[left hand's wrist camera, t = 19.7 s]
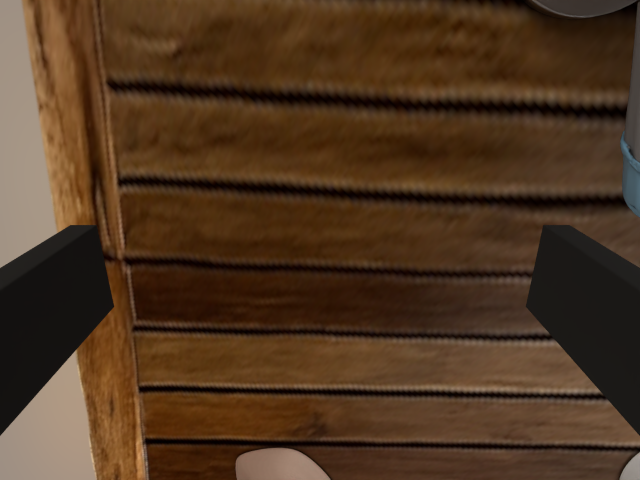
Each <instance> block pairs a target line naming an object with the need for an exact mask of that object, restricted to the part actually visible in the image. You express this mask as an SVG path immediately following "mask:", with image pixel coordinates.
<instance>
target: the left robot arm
mask: <svg viewBox="0 0 640 480" xmlns="http://www.w3.org/2000/svg"><path fill="white" fill-rule="evenodd" d="M523 1H524V2H525V3H526V4H527V5H529V6H530V7H531V8H533V9H535V10H536V11H538V12H540V13H543V14H545V15H548V16H551V17H554V18H560V19H584V18H590V17H595V16H600V15H604V14H607V13H611V12H614V11H617V10H619V9H622V8H624V7H626V6H628V5H630V4H632V3H634V2H635V1H637V0H523ZM620 146H621V150H622V153H623V179H622V191H623V196H624V199H625V201H626V203H627V205H628V207H629V208H630V209H631V210H632V211H633V212H634V213H635V215H637V216H638V217H640V0H639V1H638V7H637V17H636V28H635V38H634V49H633V59H632V70H631V80H630V90H629V98H628V107H627V115H626V123H625V131H623V134H622V137H621V142H620ZM113 307H114V304H113V299H112V295H111V290H110V285H109V281H108V276H107V271H106V267H105V262H104V257H103V253H102V248H101V243H100V239H99V234H98V229H97V225H70V226H68V227H67V228H65V229H64V230H62V231H60V232H59V233H57V234H55V235H54V236H52V237H50V238H49V239H47V240H46V241H44V242H42V243H41V244H39V245H37V246H36V247H34V248H32V249H31V250H29V251H27V252H26V253H24V254H23V255H21V256H19V257H18V258H16V259H14V260H13V261H11V262H9V263H8V264H6V265H5V266H3V267H1V268H0V435H1V434H2V433H3V432H4V431H5V430H6V428H7V427H8V426H9V425H10V424H11V423H12V422H13V421H14V420H15V418H16V417H17V416H18V415H19V414H20V413H21V412H22V410H23V409H24V408H25V407H26V406H27V405H28V404H29V402H30V401H31V400H32V399H33V398H34V397H35V396H36V395H37V393H38V392H39V391H40V390H41V389H42V388H43V387H44V386H45V384H46V383H47V382H48V381H49V380H50V379H51V378H52V376H53V375H54V374H55V373H56V372H57V371H58V370H59V368H60V367H61V366H62V365H63V364H64V363H65V362H66V361H67V359H68V358H69V357H70V356H71V355H72V354H73V353H74V351H75V350H76V349H77V348H78V347H79V346H80V345H81V344H82V342H83V341H84V340H85V339H86V338H87V337H88V336H89V334H90V333H91V332H92V331H93V330H94V329H95V328H96V327H97V325H98V324H99V323H100V322H101V321H102V320H103V319H104V317H105V316H106V315H107V314H108V313H109V312H110V311H111V310H112V308H113ZM526 307H527V308H528V310H529V311H530V312H531V313H532V314H533V315H534V316H535V317H536V319H537V320H538V321H539V322H540V323H541V324H542V325H543V327H544V328H545V329H546V330H547V331H548V332H549V333H550V334H551V336H552V337H553V338H554V339H555V340H556V341H557V342H558V344H559V345H560V346H561V347H562V348H563V349H564V350H565V351H566V353H567V354H568V355H569V356H570V357H571V358H572V359H573V361H574V362H575V363H576V364H577V365H578V366H579V367H580V369H581V370H582V371H583V372H584V373H585V374H586V375H587V376H588V378H589V379H590V380H591V381H592V382H593V383H594V384H595V386H596V387H597V388H598V389H599V390H600V391H601V392H602V393H603V395H604V396H605V397H606V398H607V399H608V400H609V401H610V403H611V404H612V405H613V406H614V407H615V408H616V409H617V410H618V412H619V413H620V414H621V415H622V416H623V417H624V418H625V420H626V421H627V422H628V423H629V424H630V425H631V426H632V427H633V429H634V430H635V431H636V432H637V433H638V434H639V435H640V268H639V267H637V266H635V265H634V264H632V263H631V262H629V261H627V260H626V259H624V258H622V257H621V256H619V255H617V254H616V253H614V252H613V251H611V250H609V249H608V248H606V247H604V246H603V245H601V244H599V243H598V242H596V241H594V240H593V239H591V238H590V237H588V236H586V235H585V234H583V233H581V232H580V231H578V230H576V229H575V228H573V227H572V226H570V225H543V229H542V234H541V239H540V243H539V248H538V253H537V257H536V262H535V267H534V271H533V276H532V281H531V285H530V290H529V295H528V299H527V304H526Z"/></svg>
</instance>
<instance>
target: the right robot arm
mask: <svg viewBox="0 0 640 480" xmlns="http://www.w3.org/2000/svg"><path fill="white" fill-rule="evenodd" d="M620 480H640V452H639V453H638V454H637V455H636V456H635V457H633V458H632V459H631V461H630V462H629V463H628V464H627V465H626V467H625V468H624V470H623V472H622V474H621V476H620Z"/></svg>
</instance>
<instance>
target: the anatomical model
mask: <svg viewBox="0 0 640 480" xmlns="http://www.w3.org/2000/svg"><path fill="white" fill-rule="evenodd" d="M236 475H237V480H331V479H330V478H329V477H328V476H327V474H326V473H325V472H324V471H323V470H322V469H321V468H320V467H319V466H318V465H317V464H316V463H315V462H313V461H312V460H311V459H310V458H308V457H307V456H306V455H304V454H302V453H301V452H299V451H296V450H293V449H288V448H267V449H260V450H255V451H251V452H247V453H244V454H242V455H240V456H239V457H238V458H237V460H236Z"/></svg>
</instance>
